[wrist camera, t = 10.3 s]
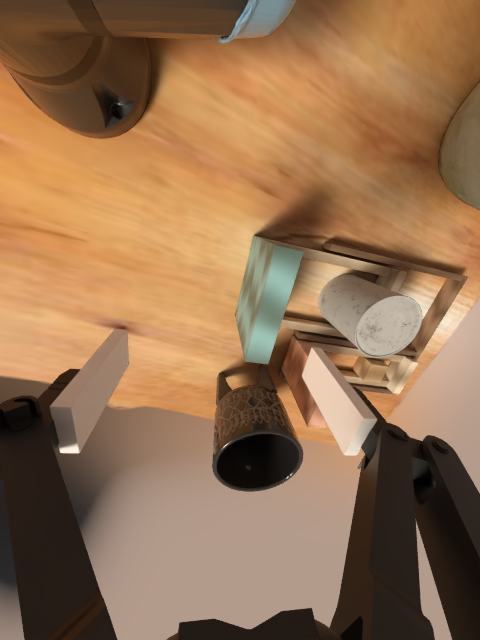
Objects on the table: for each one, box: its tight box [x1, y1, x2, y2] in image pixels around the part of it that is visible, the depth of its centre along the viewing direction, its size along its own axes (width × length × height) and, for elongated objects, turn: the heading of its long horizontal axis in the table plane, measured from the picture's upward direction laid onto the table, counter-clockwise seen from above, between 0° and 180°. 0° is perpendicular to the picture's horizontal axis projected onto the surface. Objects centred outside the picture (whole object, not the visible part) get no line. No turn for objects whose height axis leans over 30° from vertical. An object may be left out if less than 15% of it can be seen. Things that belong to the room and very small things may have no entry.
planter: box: [212, 365, 303, 492], centre depth 40 cm, size 13×13×18 cm
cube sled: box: [281, 335, 418, 428], centre depth 41 cm, size 8×26×14 cm, turn 77°
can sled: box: [235, 236, 408, 364], centre depth 34 cm, size 14×26×14 cm, turn 77°
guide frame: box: [279, 242, 468, 395], centre depth 44 cm, size 27×27×2 cm
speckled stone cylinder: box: [318, 274, 422, 358], centre depth 37 cm, size 10×10×12 cm
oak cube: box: [353, 356, 389, 383], centre depth 47 cm, size 4×4×4 cm
